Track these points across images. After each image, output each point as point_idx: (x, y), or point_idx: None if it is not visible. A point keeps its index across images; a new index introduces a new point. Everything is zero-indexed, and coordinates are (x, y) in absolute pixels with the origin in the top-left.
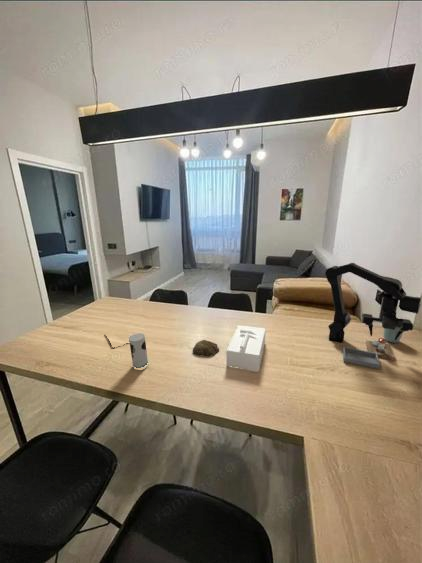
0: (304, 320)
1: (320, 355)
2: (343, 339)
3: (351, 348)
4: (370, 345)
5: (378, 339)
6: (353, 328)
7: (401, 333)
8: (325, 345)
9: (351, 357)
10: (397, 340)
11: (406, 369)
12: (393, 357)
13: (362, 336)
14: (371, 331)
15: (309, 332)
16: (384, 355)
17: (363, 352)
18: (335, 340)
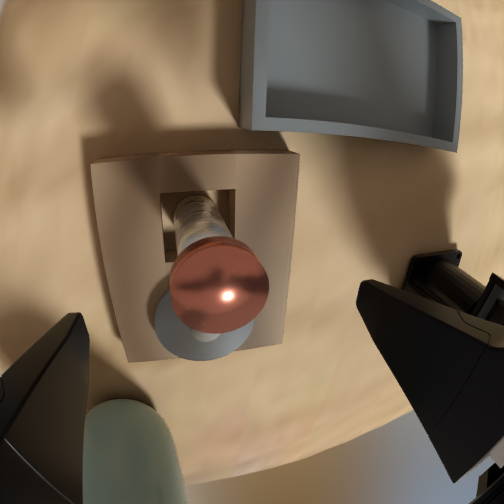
0: None
1: (500, 77)
2: (408, 284)
3: (423, 144)
4: None
5: (266, 287)
6: (304, 428)
7: None
8: (480, 184)
9: (408, 64)
10: (92, 414)
11: (37, 59)
12: (101, 162)
13: (278, 388)
14: (430, 310)
15: None
16: (174, 155)
17: (349, 123)
18: (441, 255)
